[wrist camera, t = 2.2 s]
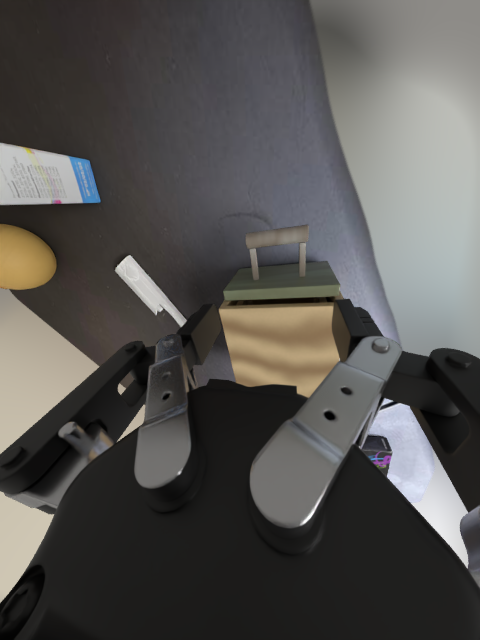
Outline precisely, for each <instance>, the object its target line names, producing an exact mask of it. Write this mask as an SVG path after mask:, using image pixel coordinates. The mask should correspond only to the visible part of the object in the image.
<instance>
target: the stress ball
mask: <svg viewBox="0 0 480 640" xmlns="http://www.w3.org/2000/svg"><path fill="white" fill-rule="evenodd" d="M56 267H57V265H56V258H55V255H54V253H53V251H52V250H51V248H50V247H49V246H48V245H47V244H46V243H45V242H44V241H43V240H42V239H41V238H39V237H38V236H36V235H35V234H33V233H31V232H29V231H27V230H25V229H22V228H19V227H16V226H12V225H7V224H0V288H3V289H14V290H23V289H30V288H35V287H38V286H40V285H43V284H45V283H46V282H48V281H49V280H50V279H51V278H52V277H53V275H54V273H55V271H56Z"/></svg>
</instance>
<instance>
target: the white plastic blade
mask: <svg viewBox="0 0 480 640" xmlns="http://www.w3.org/2000/svg"><path fill="white" fill-rule="evenodd" d="M115 272H116V273H117V274H118V275H119V276H120V277H121V278H122V279H123V280H124V281H125V282H126V283H127V284H128V286H129V287H130V288H131V289H132V290H133V291H134V292H135V293H136V294H137V295H138V296H139V297H140V298H141V300H142V301H143V302H144V303H145V304H146V305H147V306H148V307H149V308H150V309H151V310H152V311H153V312H154V314H155V315H157V311H159V312H161V311H162V310H163V308H164V309H166V310H167V311H168V312H169V313H170V314H171V315H172V317H173V318H174V319H175V320H176V321H177V323H178V324H179V325H180V327H182V326H183V325H184V324H185V322H186V321H187V320H186V319H185V318H184V316H183V315H182V314H181V313H180V312H179V311H178V310H177V308H176V307H175V306H174V305H173V304H172V303H171V301H170V300H169V299H168V298H167V297H166V295H165V294H164V293H163V292H162V291H161V290H160V288H158V286H157V285H156V284H155V282H154V281H152V280H151V278H150V277H149V275H147V274H146V273H145V271H144V270H143V269H142V268H141V267H140V266H139V265H138V263H137V262H136V261H135V260H134V259H133V258H132V256H131V255H129V256H127V257H126V258H125V259H124V260H123V261H121V263H120V264H119V265H118V266H117V267H116V270H115ZM159 304H160V305H161V306H162V307H163V308H162V307H161V306H160V305H159Z"/></svg>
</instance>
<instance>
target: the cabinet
mask: <svg viewBox="0 0 480 640" xmlns="http://www.w3.org/2000/svg"><path fill="white" fill-rule="evenodd" d="M336 299H344V298H343V296H342V294H341V292H340V291H339V296H329V297H326V300H327V303H298V304H268V305H238V306H236V305H237V303H238V301H239V300H232V301H225V300H224V302H223V303H222V305H221V306H220V308H219V314H220V318H221V322H222V326H223V330H224V334H225V338H226V342H227V346H228V351H229V355H230V359H231V363H232V367H233V371H234V375H235V379H236V383H238V384H241V385H244V386H248V387H254V386H261V385H269V384H280V385H293V386H297V393H298V394H301V395H303V396H306V397H308V398H309V397H310V396H311V395H312V393H313V392H314V391H315V390H316V388H317V387H318V386H319V385H320V383H321V382H322V381H323V380H324V378H325V377H326V376H327V375H328V373H329V372H330V371H331V370H332V369H333V367H334V366H335V365H336V364H337V362H339V354H338V351H337V347H336V344H335V340H334V337H333V333H332V316H333V306H334V300H336Z"/></svg>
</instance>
